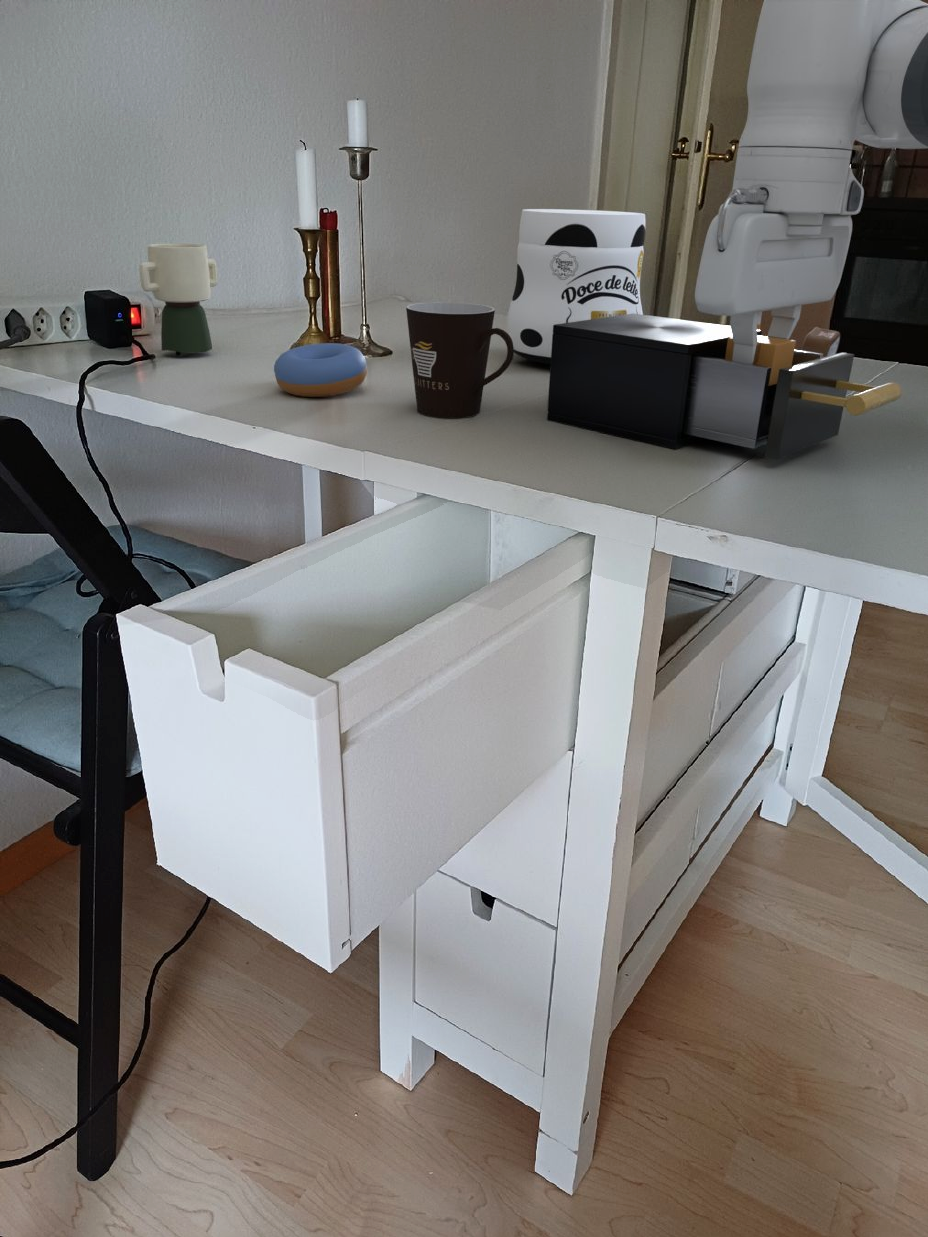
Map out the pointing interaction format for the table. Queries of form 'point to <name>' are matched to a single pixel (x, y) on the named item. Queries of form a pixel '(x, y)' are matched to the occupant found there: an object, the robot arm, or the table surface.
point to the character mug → (181, 293)
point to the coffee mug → (452, 356)
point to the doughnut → (320, 369)
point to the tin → (821, 341)
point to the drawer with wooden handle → (775, 400)
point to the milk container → (573, 273)
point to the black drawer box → (628, 375)
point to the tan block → (770, 354)
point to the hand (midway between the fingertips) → (759, 361)
